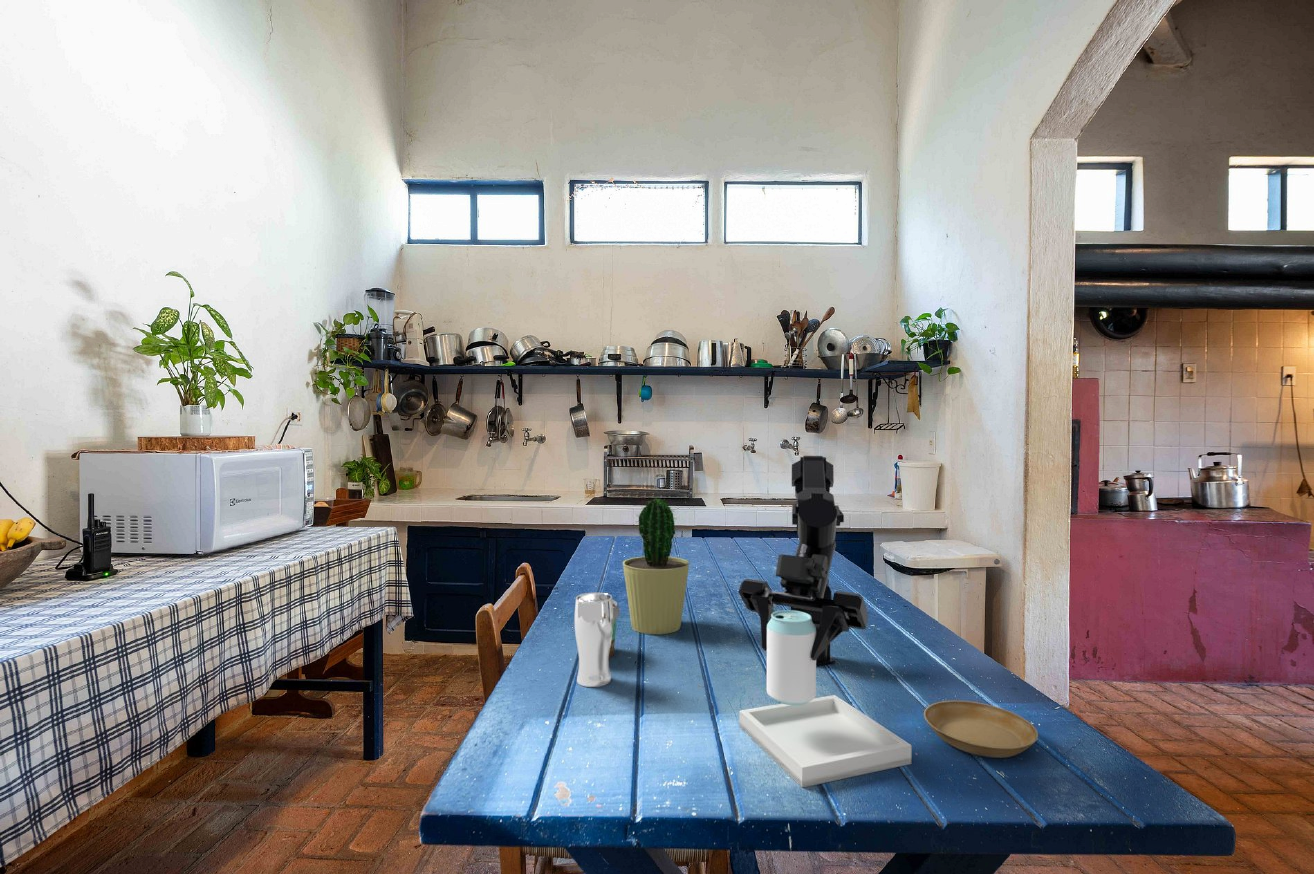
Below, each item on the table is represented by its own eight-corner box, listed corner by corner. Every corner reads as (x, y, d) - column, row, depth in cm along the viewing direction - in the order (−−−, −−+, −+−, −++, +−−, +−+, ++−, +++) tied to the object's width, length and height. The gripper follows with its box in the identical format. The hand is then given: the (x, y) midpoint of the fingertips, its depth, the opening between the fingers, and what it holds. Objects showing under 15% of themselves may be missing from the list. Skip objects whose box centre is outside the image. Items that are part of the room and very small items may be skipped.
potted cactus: (655, 612, 153) (655, 492, 153) (703, 626, 142) (703, 496, 142) (608, 626, 142) (608, 496, 142) (656, 642, 131) (656, 501, 131)
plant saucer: (1026, 779, 80) (1026, 759, 80) (909, 742, 89) (909, 724, 89) (1046, 737, 91) (1046, 719, 91) (940, 708, 101) (941, 692, 101)
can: (785, 711, 86) (785, 625, 86) (757, 691, 92) (757, 611, 92) (826, 702, 89) (826, 618, 88) (796, 684, 95) (796, 606, 95)
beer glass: (620, 676, 112) (620, 594, 112) (600, 691, 106) (601, 604, 106) (587, 670, 115) (587, 590, 115) (566, 684, 109) (566, 599, 109)
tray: (834, 710, 99) (834, 694, 99) (911, 763, 83) (911, 745, 83) (739, 727, 93) (739, 710, 93) (802, 787, 77) (802, 767, 77)
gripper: (743, 528, 98) (712, 614, 89) (863, 538, 89) (842, 636, 79) (762, 568, 105) (734, 652, 96) (875, 582, 95) (857, 677, 86)
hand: (787, 654), depth 89 cm, fingers closed on can, 7 cm apart
